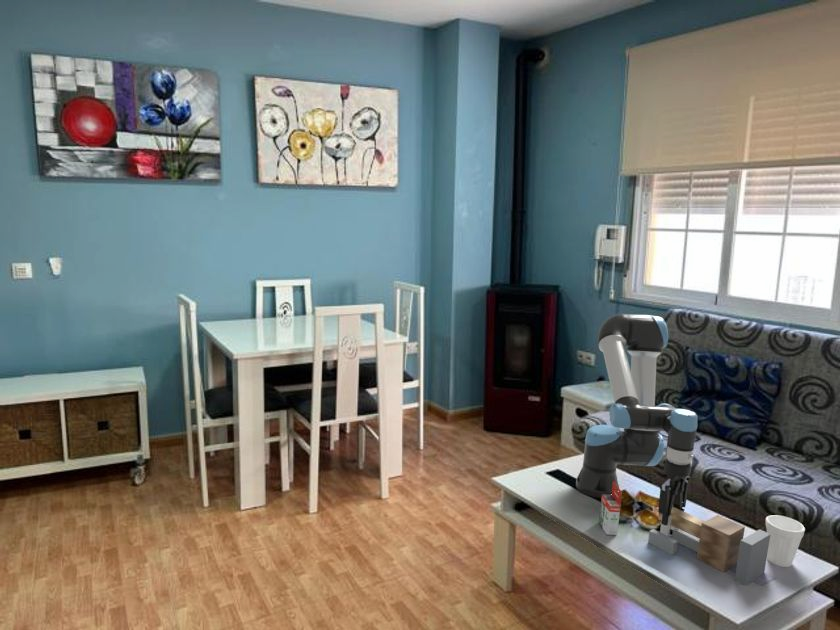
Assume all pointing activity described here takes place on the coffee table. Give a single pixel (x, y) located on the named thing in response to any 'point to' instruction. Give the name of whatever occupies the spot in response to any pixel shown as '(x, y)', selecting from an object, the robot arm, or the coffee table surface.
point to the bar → (685, 522)
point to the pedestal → (662, 541)
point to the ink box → (610, 511)
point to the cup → (783, 539)
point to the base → (749, 553)
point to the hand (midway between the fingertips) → (668, 531)
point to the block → (720, 542)
